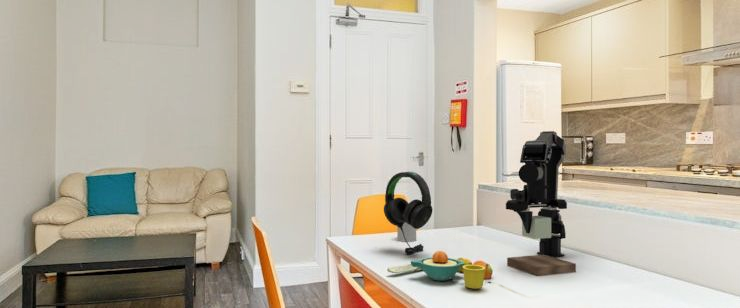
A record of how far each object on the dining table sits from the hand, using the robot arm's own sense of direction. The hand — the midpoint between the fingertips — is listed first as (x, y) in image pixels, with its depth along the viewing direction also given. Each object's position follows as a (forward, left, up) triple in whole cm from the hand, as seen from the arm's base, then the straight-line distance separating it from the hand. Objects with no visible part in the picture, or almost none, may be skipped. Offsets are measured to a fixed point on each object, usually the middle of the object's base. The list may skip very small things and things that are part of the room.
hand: (536, 232), depth 147 cm
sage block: (0, 0, -1) cm, 1 cm away
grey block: (+19, -53, -11) cm, 58 cm away
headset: (+27, -32, -11) cm, 44 cm away
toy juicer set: (+30, -3, -12) cm, 33 cm away
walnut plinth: (-1, +1, -11) cm, 11 cm away
